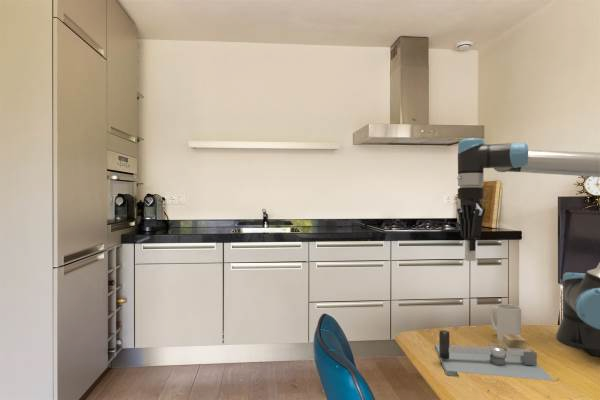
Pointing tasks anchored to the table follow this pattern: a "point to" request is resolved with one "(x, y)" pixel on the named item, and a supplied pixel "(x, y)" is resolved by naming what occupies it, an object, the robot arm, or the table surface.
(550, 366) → the table surface
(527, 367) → the base
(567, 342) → the robot arm
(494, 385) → the table surface
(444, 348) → the lever
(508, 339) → the block
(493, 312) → the mug
